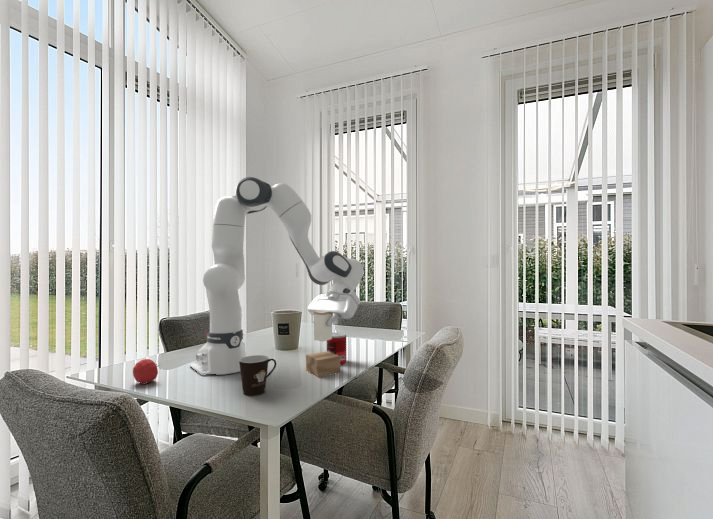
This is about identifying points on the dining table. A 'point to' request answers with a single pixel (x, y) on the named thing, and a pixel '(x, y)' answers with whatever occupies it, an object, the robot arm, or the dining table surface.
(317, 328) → the pink-rimmed square pillar
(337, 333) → the canned food
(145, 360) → the tomato
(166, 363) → the dining table surface
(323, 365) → the block
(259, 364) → the coffee mug
